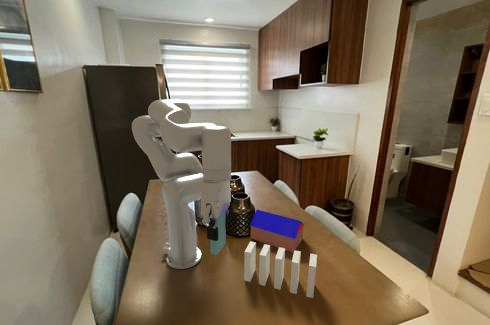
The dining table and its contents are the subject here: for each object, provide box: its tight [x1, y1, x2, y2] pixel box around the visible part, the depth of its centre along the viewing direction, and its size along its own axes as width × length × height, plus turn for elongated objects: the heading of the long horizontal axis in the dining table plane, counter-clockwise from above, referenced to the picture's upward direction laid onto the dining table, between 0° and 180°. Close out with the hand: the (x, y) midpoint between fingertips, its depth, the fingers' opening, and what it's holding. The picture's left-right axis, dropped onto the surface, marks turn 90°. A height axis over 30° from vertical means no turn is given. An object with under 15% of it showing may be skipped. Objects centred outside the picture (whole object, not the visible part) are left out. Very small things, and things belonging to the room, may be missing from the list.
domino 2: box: [243, 241, 257, 283], centre depth 79 cm, size 2×6×11 cm, turn 161°
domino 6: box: [306, 253, 318, 299], centre depth 72 cm, size 2×6×11 cm, turn 161°
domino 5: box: [289, 249, 302, 295], centre depth 74 cm, size 2×6×11 cm, turn 161°
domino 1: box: [209, 211, 227, 256], centre depth 67 cm, size 2×6×11 cm, turn 161°
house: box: [249, 209, 305, 254], centre depth 100 cm, size 12×20×12 cm, turn 59°
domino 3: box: [258, 243, 271, 287], centre depth 77 cm, size 2×6×11 cm, turn 161°
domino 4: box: [273, 247, 286, 291], centre depth 76 cm, size 2×6×11 cm, turn 161°
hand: (218, 232), depth 67 cm, fingers closed on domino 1, 5 cm apart
